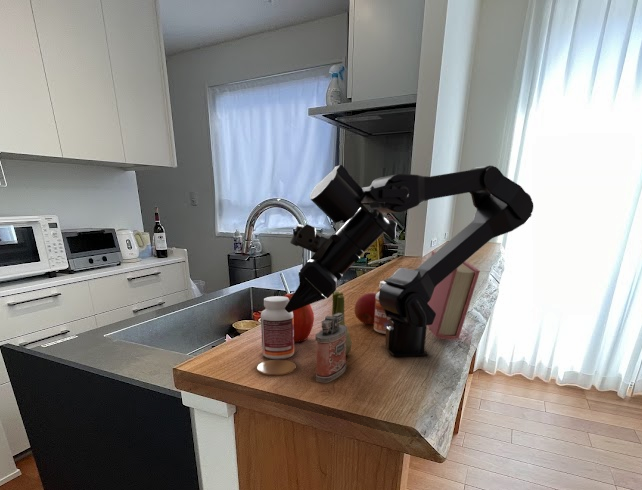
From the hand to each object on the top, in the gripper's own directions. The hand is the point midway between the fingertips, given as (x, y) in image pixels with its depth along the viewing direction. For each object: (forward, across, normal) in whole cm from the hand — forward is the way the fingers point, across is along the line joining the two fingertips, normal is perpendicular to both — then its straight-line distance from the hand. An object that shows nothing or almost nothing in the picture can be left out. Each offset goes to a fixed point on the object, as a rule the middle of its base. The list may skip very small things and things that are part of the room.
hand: (290, 304), depth 70 cm
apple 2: (-6, -20, +18) cm, 28 cm away
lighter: (+2, +8, +13) cm, 15 cm away
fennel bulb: (+1, -1, +13) cm, 14 cm away
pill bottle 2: (-6, -18, +21) cm, 28 cm away
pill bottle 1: (+9, 0, +5) cm, 11 cm away
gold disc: (+8, +7, +6) cm, 12 cm away
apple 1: (+8, -10, +7) cm, 14 cm away
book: (-19, -17, +21) cm, 33 cm away
